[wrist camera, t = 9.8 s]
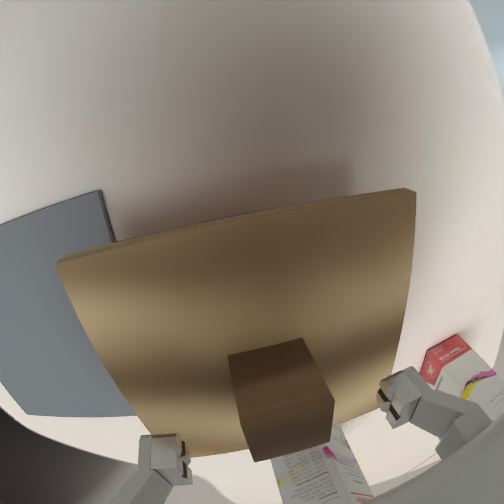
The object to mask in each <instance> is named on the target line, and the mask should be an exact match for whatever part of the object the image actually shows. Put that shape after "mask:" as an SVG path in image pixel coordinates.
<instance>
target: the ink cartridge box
mask: <svg viewBox="0 0 504 504" xmlns="http://www.w3.org/2000/svg"><path fill="white" fill-rule="evenodd" d="M420 375H421V376H422V378H423V379H424V380H425V381H426V382H427V384H428V385H429V386H430V387H431V388H432V390H435V389H437V390H440V391H442V392H445V393H448V394H451V395H454V396H457V397H460V398H463V399H466V400H469V401H472V402H475V403H478V405H479V406H480V407H481V408H482V409H483V411H484V412H485V413H486V414H487V415H488V417H489V418H490V419H491V420H492V422H493V421H494V420H496V419H497V418H498V417H499V416H500V415H501V414H502V413H503V412H504V381H503V380H502V379H501V378H500V377H499V376H498V375H497V374H496V372H494V370H493V369H492V368H491V367H490V366H489V365H488V364H487V363H486V362H485V361H484V360H483V359H482V358H481V357H480V356H479V355H478V354H477V353H476V352H475V351H474V350H473V349H472V348H471V347H470V346H469V345H468V344H467V343H466V342H465V341H464V340H463V339H462V338H461V337H460V336H458V335H455V336H454V337H452V338H450V339H448V340H446V341H445V342H443V343H441V344H439V345H437V346H435V347H433V348H431V349H429V350H428V351H427V354H426V357H425V360H424V363H423V366H422V369H421V372H420ZM438 438H439V437H438ZM439 440H440V441H441V438H439Z"/></svg>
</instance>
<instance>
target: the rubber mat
mask: <svg viewBox="0 0 504 504" xmlns="http://www.w3.org/2000/svg"><path fill="white" fill-rule="evenodd" d="M114 242H115V241H114V237H113V234H112V231H111V227H110V224H109V220H108V217H107V213H106V210H105V206H104V202H103V198H102V194H101V190H98V191H95V192H91V193H88V194H85V195H82V196H78V197H75V198H72V199H69V200H66V201H63V202H60V203H57V204H54V205H51V206H49V207H46V208H43V209H40V210H38V211H35V212H32V213H29V214H27V215H24V216H22V217H19V218H17V219H14V220H12V221H9V222H7V223H4V224H2V225H0V382H1V383H2V385H3V386H4V387H5V389H6V390H7V391H8V392H9V394H10V395H11V396H12V397H13V399H14V400H15V401H16V402H17V403H18V405H19V406H20V407H21V408H22V409H23V410H24V412H25V413H26V414H28V415H40V416H56V417H119V416H136V413H135V412H134V410H133V409H132V408H131V406H130V405H129V403H128V402H127V400H126V399H125V397H124V396H123V394H122V393H121V391H120V390H119V388H118V387H117V385H116V384H115V382H114V381H113V379H112V377H111V376H110V374H109V373H108V371H107V369H106V368H105V366H104V364H103V363H102V361H101V359H100V357H99V356H98V354H97V352H96V350H95V349H94V347H93V345H92V343H91V341H90V339H89V338H88V336H87V334H86V332H85V330H84V328H83V326H82V324H81V322H80V320H79V318H78V316H77V314H76V312H75V310H74V308H73V305H72V303H71V301H70V299H69V297H68V294H67V292H66V290H65V287H64V285H63V283H62V280H61V278H60V275H59V273H58V270H57V268H56V265H55V264H56V263H57V261H58V260H59V259H60V258H61V257H62V256H63V255H67V254H70V253H74V252H78V251H82V250H86V249H90V248H94V247H98V246H102V245H106V244H110V243H114Z"/></svg>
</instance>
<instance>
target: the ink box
mask: <svg viewBox="0 0 504 504" xmlns="http://www.w3.org/2000/svg"><path fill="white" fill-rule="evenodd" d="M270 460H271V463H272V467H273V470H274V474H275V477H276V481H277V484H278V488H279V491H280V494H281V498H282V501H283V504H359V503H362V502H364V501H367V500H369V499H371V498H373V497H374V496H373V494H372V492H371V490H370V487H369V485H368V483H367V481H366V479H365V477H364V475H363V473H362V471H361V469H360V467H359V465H358V463H357V460H356V458H355V456H354V454H353V452H352V450H351V448H350V446H349V444H348V442H347V440H346V438H345V436H344V434H343V431H342V429H341V427H340V425H339V424H337V425H334V426H332V430H331V437H330V442H328V443H325V444H322V445H318V446H315V447H312V448H309V449H306V450H302V451H299V452H295V453H291V454H288V455H284V456H280V457H276V458H272V459H270Z"/></svg>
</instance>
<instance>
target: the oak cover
mask: <svg viewBox="0 0 504 504" xmlns="http://www.w3.org/2000/svg"><path fill="white" fill-rule="evenodd" d="M415 216H416V192H414V191H411V190H409V189H406V188H401V189H394V190H387V191H380V192H373V193H366V194H359V195H353V196H346V197H340V198H334V199H328V200H322V201H316V202H310V203H304V204H298V205H292V206H287V207H281V208H275V209H270V210H265V211H259V212H254V213H249V214H244V215H238V216H233V217H228V218H223V219H218V220H213V221H208V222H204V223H199V224H194V225H189V226H185V227H180V228H175V229H171V230H166V231H162V232H157V233H153V234H148V235H144V236H140V237H135V238H131V239H127V240H123V241H118V242H114V243H110V244H106V245H102V246H98V247H94V248H90V249H86V250H82V251H78V252H74V253H70V254H67V255H63V256H62V257H61V258H60V259H59V260H58V261H57V263H56V264H55V265H56V268H57V270H58V273H59V275H60V278H61V280H62V283H63V285H64V287H65V290H66V292H67V294H68V297H69V299H70V301H71V303H72V305H73V308H74V310H75V312H76V314H77V316H78V318H79V320H80V322H81V324H82V326H83V328H84V330H85V332H86V334H87V336H88V338H89V339H90V341H91V343H92V345H93V347H94V349H95V350H96V352H97V354H98V356H99V357H100V359H101V361H102V363H103V364H104V366H105V368H106V369H107V371H108V373H109V374H110V376H111V377H112V379H113V381H114V382H115V384H116V385H117V387H118V388H119V390H120V391H121V393H122V394H123V396H124V397H125V399H126V400H127V402H128V403H129V405H130V406H131V408H132V409H133V410H134V412H135V413H136V415H137V416H138V417H139V419H140V420H141V421H142V423H143V424H144V425H145V427H146V428H147V429H148V431H149V432H150V433H151V434H152V435H153V434H154V435H156V434H168V433H179V434H180V435H181V440H182V441H184V442H185V443H186V444H187V446H188V448H189V452H190V458H192V457H201V456H209V455H216V454H222V453H229V452H234V451H240V450H245V449H249V450H250V452H251V455H252V457H253V460H254V462H258V461H263V460H267V459H272V458H276V457H280V456H284V455H288V454H291V453H295V452H299V451H302V450H306V449H309V448H312V447H315V446H318V445H322V444H325V443H328V442H330V437H331V430H332V426H334V425H337V424H340V423H342V422H345V421H348V420H350V419H353V418H356V417H358V416H361V415H363V414H366V413H368V412H370V411H373V410H375V409H377V408H379V406H378V403H377V398H376V395H377V391H378V390H379V389H380V386H379V383H380V381H381V380H382V379H384V378H386V377H388V376H390V375H391V373H392V369H393V365H394V361H395V357H396V353H397V348H398V344H399V339H400V335H401V330H402V325H403V319H404V314H405V308H406V302H407V296H408V289H409V282H410V274H411V266H412V257H413V246H414V233H415Z"/></svg>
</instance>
